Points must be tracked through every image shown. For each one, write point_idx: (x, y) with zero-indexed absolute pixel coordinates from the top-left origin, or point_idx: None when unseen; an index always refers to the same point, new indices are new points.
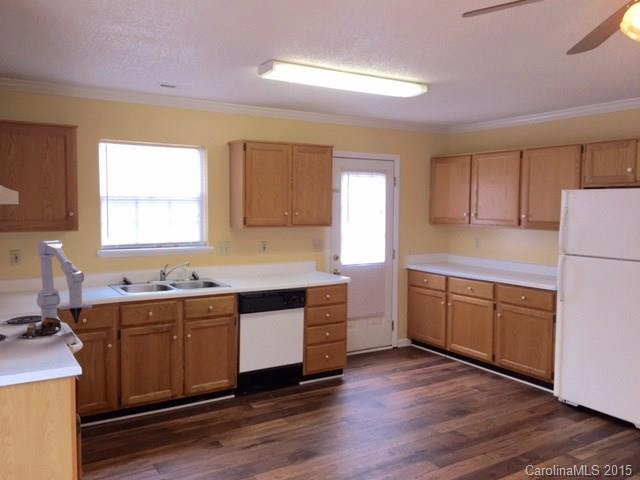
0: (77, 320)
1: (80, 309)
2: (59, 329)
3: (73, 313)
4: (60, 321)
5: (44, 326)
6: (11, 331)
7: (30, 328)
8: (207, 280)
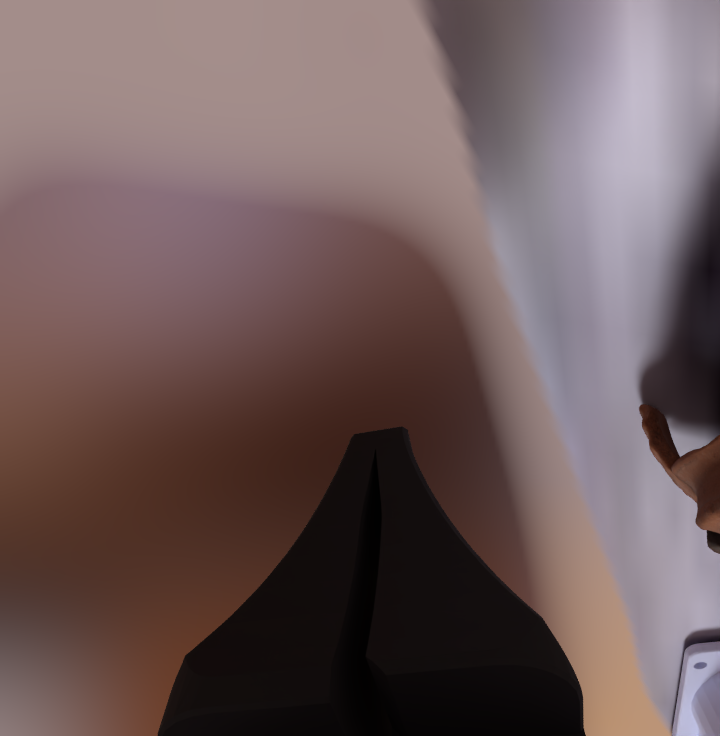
0: (347, 465)
1: (179, 730)
2: (655, 408)
3: (435, 584)
4: (706, 503)
5: None
6: None
7: None
8: None
